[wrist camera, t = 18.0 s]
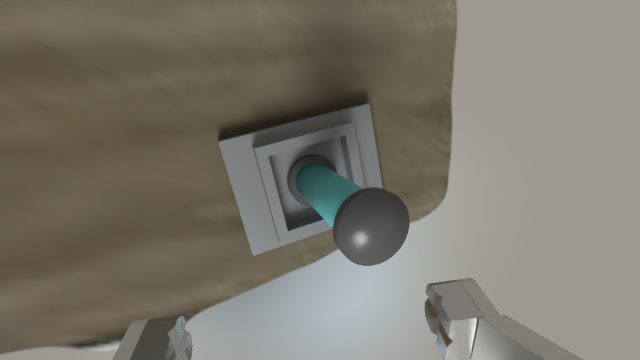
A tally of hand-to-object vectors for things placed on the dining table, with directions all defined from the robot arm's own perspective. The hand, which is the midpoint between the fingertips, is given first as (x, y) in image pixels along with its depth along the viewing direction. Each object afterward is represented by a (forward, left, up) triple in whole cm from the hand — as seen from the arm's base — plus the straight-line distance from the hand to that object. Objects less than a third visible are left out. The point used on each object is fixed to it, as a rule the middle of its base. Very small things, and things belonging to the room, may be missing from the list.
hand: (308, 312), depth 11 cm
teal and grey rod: (+8, -4, -28) cm, 29 cm away
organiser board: (+8, -4, -29) cm, 31 cm away
